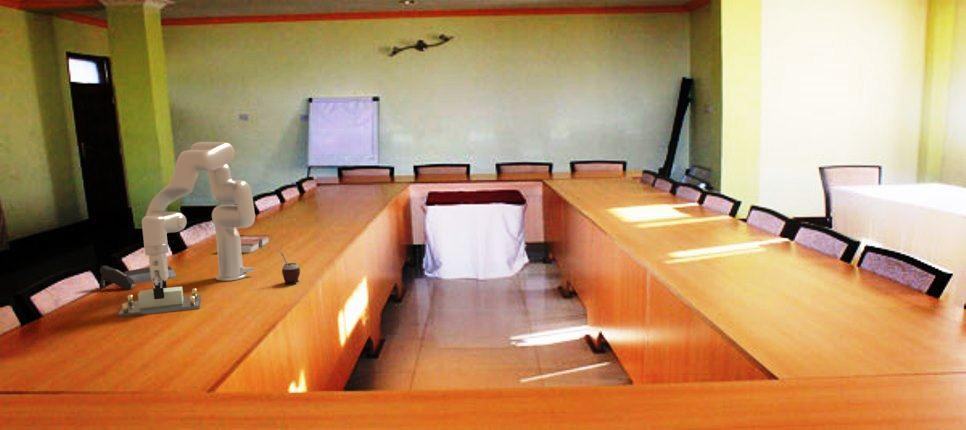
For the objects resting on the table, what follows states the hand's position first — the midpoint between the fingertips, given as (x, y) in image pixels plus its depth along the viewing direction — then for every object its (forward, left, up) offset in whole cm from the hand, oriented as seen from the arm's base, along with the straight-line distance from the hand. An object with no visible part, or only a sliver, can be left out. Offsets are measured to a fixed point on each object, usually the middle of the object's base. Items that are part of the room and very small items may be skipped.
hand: (160, 295), depth 232 cm
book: (-30, -98, -5) cm, 103 cm away
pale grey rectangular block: (0, 0, -3) cm, 3 cm away
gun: (+19, -35, -5) cm, 41 cm away
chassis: (0, 0, -4) cm, 4 cm away
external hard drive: (+10, -49, -5) cm, 50 cm away
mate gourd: (-47, -16, -5) cm, 49 cm away
